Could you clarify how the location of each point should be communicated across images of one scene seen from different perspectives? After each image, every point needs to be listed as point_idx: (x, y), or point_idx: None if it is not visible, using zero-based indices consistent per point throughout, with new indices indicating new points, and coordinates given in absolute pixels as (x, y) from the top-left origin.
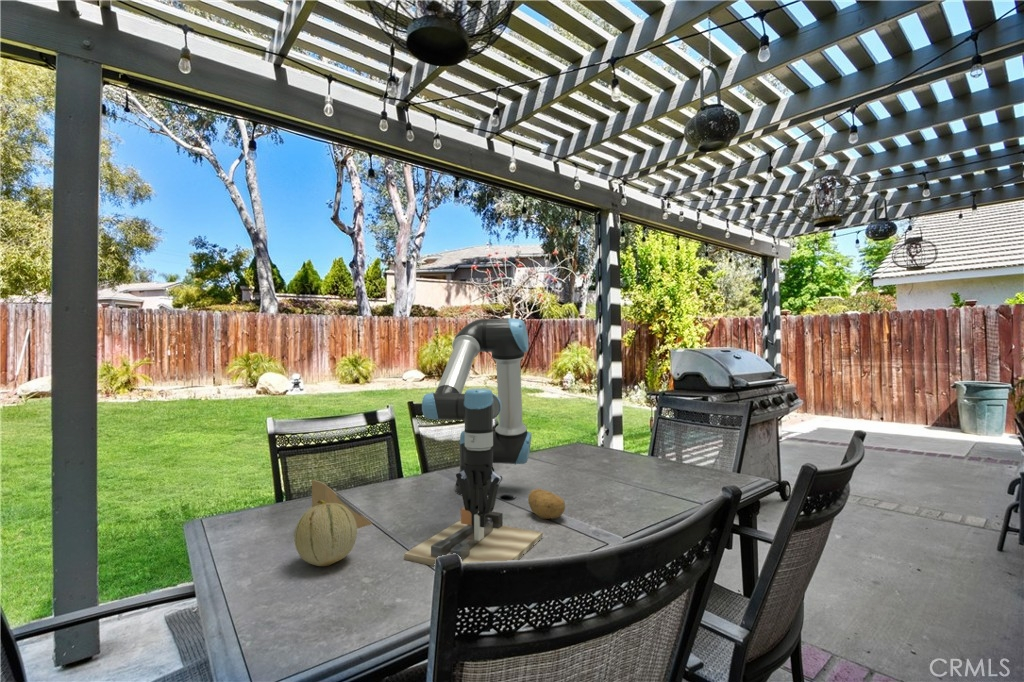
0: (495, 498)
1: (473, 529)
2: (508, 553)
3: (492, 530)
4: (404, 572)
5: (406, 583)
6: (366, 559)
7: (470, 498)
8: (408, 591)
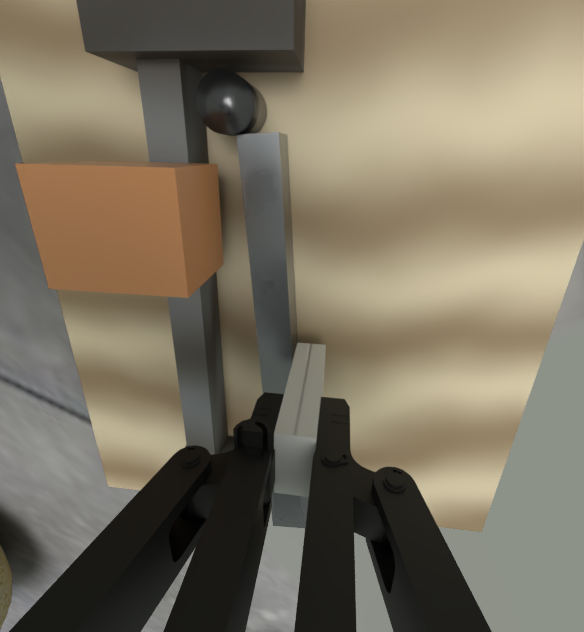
0: (472, 606)
1: None
2: (484, 387)
3: (287, 141)
4: None
5: None
6: (31, 494)
7: (164, 536)
8: (264, 590)
